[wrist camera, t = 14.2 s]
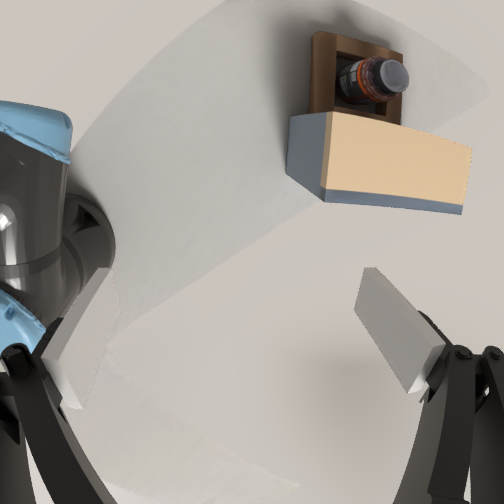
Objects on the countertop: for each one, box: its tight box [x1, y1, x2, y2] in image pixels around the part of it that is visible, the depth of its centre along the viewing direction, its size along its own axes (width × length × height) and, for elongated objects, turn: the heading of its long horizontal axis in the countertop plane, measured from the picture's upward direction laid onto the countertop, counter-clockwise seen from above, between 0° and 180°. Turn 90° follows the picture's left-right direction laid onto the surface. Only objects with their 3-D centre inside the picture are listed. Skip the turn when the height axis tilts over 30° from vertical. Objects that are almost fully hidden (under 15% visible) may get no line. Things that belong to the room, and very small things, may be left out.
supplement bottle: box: [335, 56, 409, 105], centre depth 29 cm, size 6×6×11 cm
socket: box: [308, 31, 403, 125], centre depth 33 cm, size 13×13×3 cm
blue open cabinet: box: [286, 112, 472, 215], centre depth 31 cm, size 18×8×16 cm, turn 87°
